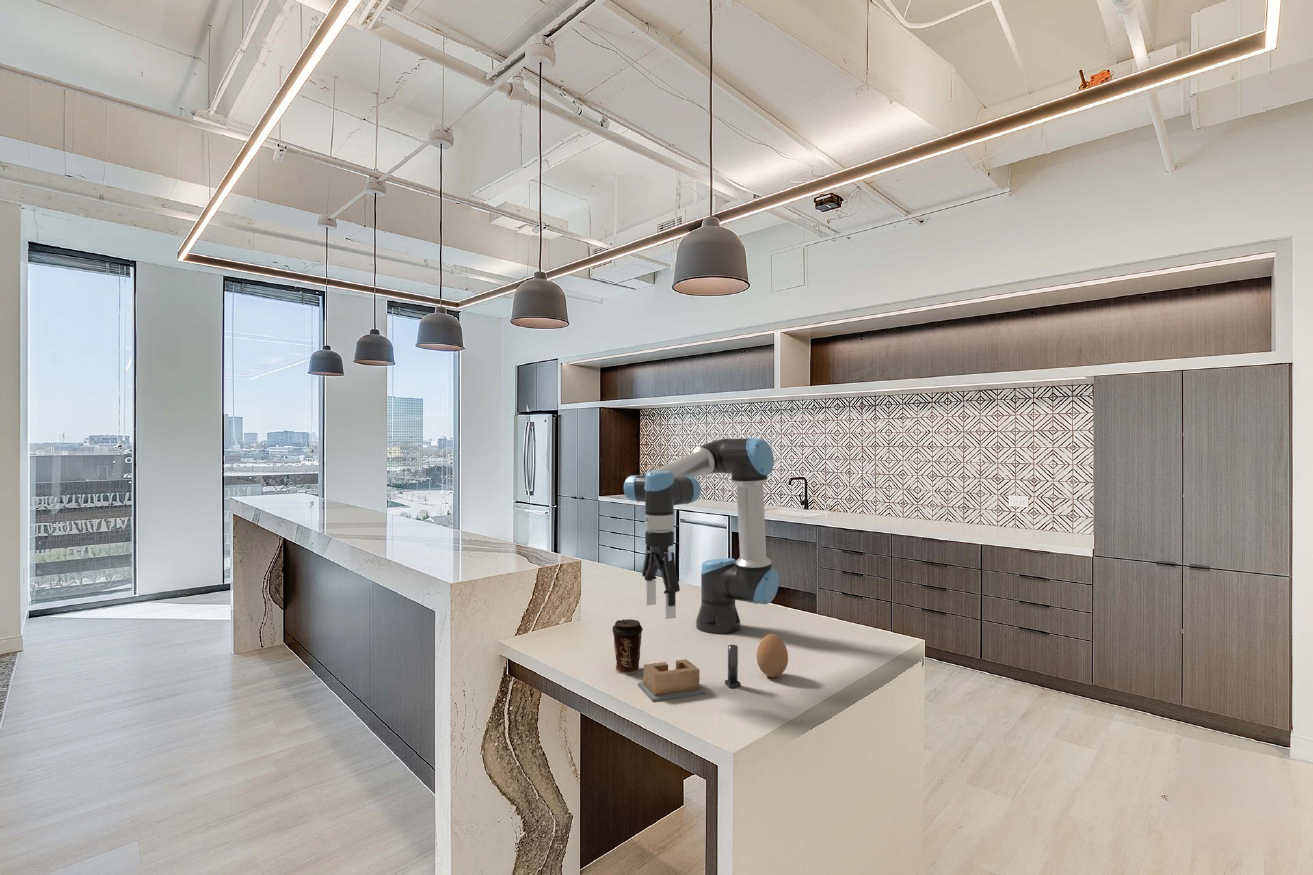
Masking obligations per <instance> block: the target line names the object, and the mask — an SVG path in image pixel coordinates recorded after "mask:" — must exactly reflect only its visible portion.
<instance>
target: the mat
mask: <svg viewBox="0 0 1313 875" xmlns="http://www.w3.org/2000/svg"><path fill="white" fill-rule="evenodd" d="M637 686H638V687H639V688H640V690H641V691H642V692H643V693H644V694H645V695H646V696H647V697H648V698H649V700H651V702H659V701H666V700H672V699H679V698H687V697H693V696H694V697H695V696H699V695H705V694H706V690H704V689H703V688H702V687H701V686H700V685H699V690H693V691H687V692H680V693H673V694H666V695H660V696H654V695H653V694H652V693H651V692H650V691H649V690H648V689H647V688H646V687H645V686H644V685H643V681H642V682H637Z"/></svg>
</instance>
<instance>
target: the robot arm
mask: <svg viewBox="0 0 1313 875" xmlns="http://www.w3.org/2000/svg"><path fill="white" fill-rule="evenodd" d="M774 466H775V457H774V452H773V449H772V448H771V446H770V444H769V443H768V442H767V441H766V440H765V439H761V438H754V437H750V438H749V437H748V438H746V437H745V438H721V439H715V440H713V441H710V442H707V443H705V444H703V445H700V446H699V447H698V446H697V447H696V448H694V449H693V450H691V452H690V454H688V455H686V456H683V457H681V458H678V459H676V460H674V461H673V462H670V463H667V464H665V465H663V466H661V467H659V468H657V469H655V470H653V471H648V472H647V473H645V474H641V475H640V474H636V475H635V474H634V475H633V474H632V475H629V476H628V477H626V479H625V481H624V483H623V493H624V495H625V498H626V499H628V500H629V501H631V502H636V503H641V502H642V503H644V504H645V508H644V509H645V511H644V516H645V518H644V519H643V522H644V524H645V529H646V531H645V534H644V535H645V536H644V538H645V539H644V540H645V545H646V546H645V556H644V562H643V565H642V566H643V569H642V572H641V573H642V574H641V576H642V577H644V580H645V606H655V605H657V590H656V589H657V588H656V587H657V581H656V580H657V572H658V571H660V574H661V577H662V581H663V584H664V588H665V590H664V591H663V594H664V619H665V620H670V619H676V618H677V612H676V611H677V609H676V604H677V602H676V601H677V600H676V597H677V596H676V595H677V594H676V593H679V592H681V588H680V583H679V578H678V573H677V568H676V562H675V561H676V560H675V553H674V552H670V551H669V547H671V546H674V544H675V533H674V531H673V530H674V529H675V514H674V506H678V505H688V504H691V503H694V502H696V501H697V500H698V499H699V497H700V495H701V485H700V483H699V482H700V481H699V480H698V479H696V478H698V477H699V476H702V477H704V476H709V475H710V474H727V475H731V482H733V484H734V485H736V498H737V499H736V500H737V501H736V502H737V522H738V523H737V524H738V541H739V542H738V543H739V544H738V546H739V558H738V559H735V558H731V557H729V558H728V557H726V558H714V559H709V560H705V561H703V562H702V564H701V572H700V576H701V580H700V581H701V582H700V584H701V588H700V589H701V590H700V592H701V594H700V596H701V597H700V598H701V599H700V600H701V602H700V608H699V610H698V613H697V616H696V620H695V628H696V629H697V630H699V631H701V632H702V631H703V632H704V633H705V632H706V633H711V634H729V633H735V632H737V631H740V630H741V619H740V616H739V612H738V609H737V607H736V601H741V602H746V603H752V604H755V605H758V604H759V605H768V604H770V603H771V602H773V600H774V598H775V597H776V595H777V593H778V589H779V585H780V575H779V572H778V570H776V569H775V568H772V560H771V559H769V557H768V556H767V544H766V543H767V540H766V524H765V523H766V522H765V521H766V520H765V518H766V517H765V501H764V500H765V498H764V497H765V496H764V495H765V494H764V484H765V483H766V482H767V481H768V478H769V477H768V476H769V475H771V474H772V472H773V470H774Z"/></svg>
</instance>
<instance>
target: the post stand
mask: <svg viewBox="0 0 1313 875" xmlns="http://www.w3.org/2000/svg"><path fill="white" fill-rule="evenodd" d="M738 650H739V646H738V645H736V644H729V645H727V679H724V685H726V687H728V688H729V689H735V688H740V687H742V685H741V684H742V683H741V682H740V681H739V680H738V678H739V677H738V676H739V675H738V674H739V671H738V670H739V667H738V662H739V652H738Z"/></svg>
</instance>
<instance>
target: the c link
mask: <svg viewBox="0 0 1313 875" xmlns="http://www.w3.org/2000/svg"><path fill="white" fill-rule="evenodd" d="M642 682H643V685H644V686H645V687H646V688H647V689H648V690H649V691H650V692H651V693H652V694H653V695H654V696H660V695H666V694H673V693H680V692H687V691H693V690H699V686H700V669H699V667H697V666H696V665H694V664H693V663H692V662H690V661H689V659H687V658H685V659H678V660H675V669H671V670H669V664H668V663H667V662H666V661H662V662H657V663H654V662H653V663H647V664H643V681H642Z"/></svg>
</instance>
